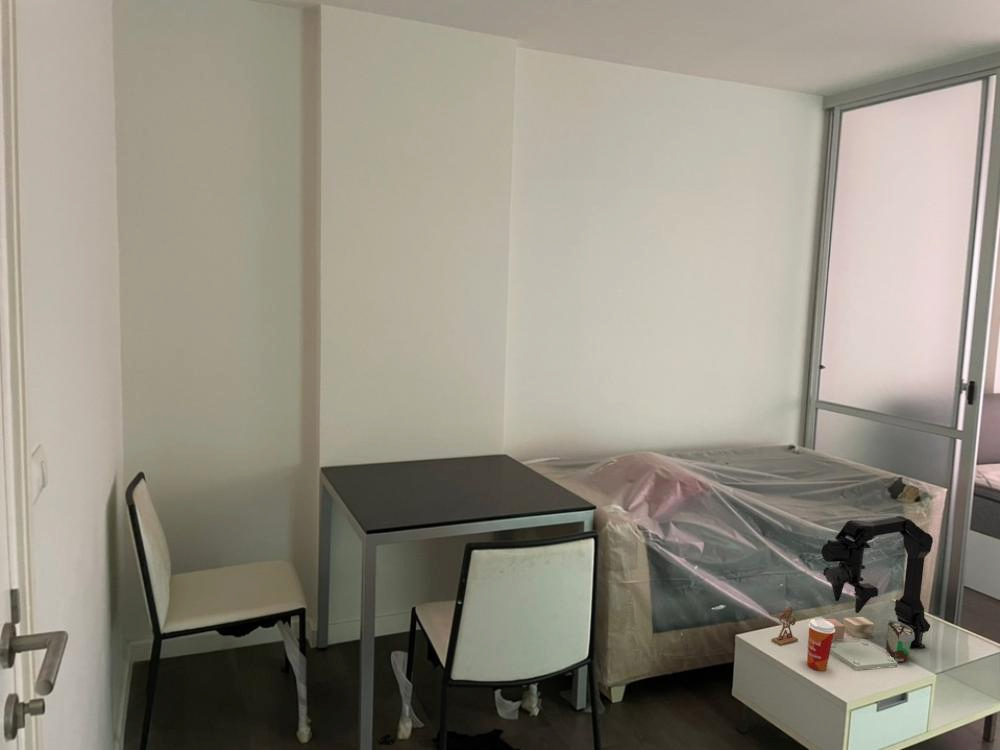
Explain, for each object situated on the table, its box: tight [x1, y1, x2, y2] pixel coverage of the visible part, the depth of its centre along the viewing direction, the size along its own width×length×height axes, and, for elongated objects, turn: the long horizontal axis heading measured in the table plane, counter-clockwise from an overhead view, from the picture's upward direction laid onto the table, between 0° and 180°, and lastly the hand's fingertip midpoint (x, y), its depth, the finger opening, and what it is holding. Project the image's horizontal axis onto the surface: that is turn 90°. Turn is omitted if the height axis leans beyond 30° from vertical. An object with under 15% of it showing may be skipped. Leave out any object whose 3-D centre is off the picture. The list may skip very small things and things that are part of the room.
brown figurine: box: [770, 605, 799, 647], centre depth 254 cm, size 9×4×12 cm, turn 121°
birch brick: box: [842, 616, 875, 639], centre depth 264 cm, size 8×6×5 cm
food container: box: [885, 619, 915, 664], centre depth 248 cm, size 12×6×10 cm, turn 168°
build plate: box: [830, 639, 899, 671], centre depth 246 cm, size 16×14×2 cm
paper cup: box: [806, 619, 835, 672], centre depth 237 cm, size 8×8×14 cm
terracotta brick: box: [822, 618, 845, 641], centre depth 260 cm, size 8×6×5 cm
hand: (846, 606), depth 250 cm, fingers open, 9 cm apart
